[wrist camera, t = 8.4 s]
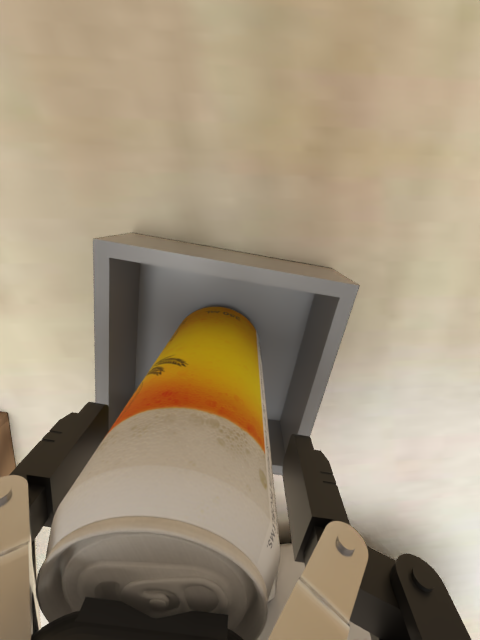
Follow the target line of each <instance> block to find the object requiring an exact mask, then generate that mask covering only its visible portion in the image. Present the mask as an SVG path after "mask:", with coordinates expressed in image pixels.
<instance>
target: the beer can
mask: <svg viewBox="0 0 480 640" xmlns="http://www.w3.org/2000/svg"><path fill="white" fill-rule="evenodd" d="M279 562H280V543H279V533H278V522H277V512H276V502H275V492H274V482H273V471H272V461H271V451H270V441H269V431H268V421H267V410H266V400H265V390H264V380H263V370H262V360H261V349H260V341H259V337H258V334H257V332H256V330H255V328H254V326H253V325H252V324H251V322H250V321H249V320H248V319H247V318H246V317H244V316H243V315H242V314H240V313H239V312H237V311H235V310H232V309H229V308H225V307H206V308H202V309H199V310H197V311H195V312H193V313H191V314H190V315H189V316H187V317H186V318H185V319H184V320H183V321H182V323H181V324H180V326H179V327H178V329H177V330H176V332H175V333H174V335H173V336H172V338H171V339H170V340H169V342H168V343H167V345H166V346H165V348H164V349H163V351H162V352H161V354H160V355H159V357H158V358H157V360H156V361H155V363H154V364H153V366H152V367H151V369H150V370H149V372H148V373H147V375H146V376H145V378H144V379H143V381H142V382H141V384H140V385H139V387H138V388H137V390H136V391H135V393H134V394H133V396H132V397H131V399H130V400H129V402H128V403H127V405H126V406H125V408H124V409H123V411H122V412H121V414H120V415H119V417H118V418H117V420H116V421H115V423H114V424H113V426H112V427H111V429H110V430H109V432H108V433H107V435H106V436H105V438H104V439H103V441H102V442H101V444H100V445H99V447H98V448H97V450H96V451H95V453H94V454H93V455H92V457H91V458H90V460H89V461H88V463H87V464H86V466H85V467H84V469H83V470H82V472H81V473H80V475H79V476H78V478H77V479H76V481H75V482H74V484H73V485H72V487H71V488H70V490H69V491H68V493H67V494H66V496H65V497H64V499H63V500H62V502H61V503H60V505H59V507H58V508H57V510H56V512H55V515H54V518H53V521H52V525H51V531H50V537H49V542H48V548H47V554H46V559H45V561H44V563H43V564H42V566H41V568H40V570H39V573H38V576H37V580H36V597H37V601H38V604H39V607H40V609H41V611H42V613H43V614H44V616H45V617H46V619H47V620H48V622H49V623H50V622H52V621H54V620H56V619H58V618H60V617H62V616H64V615H66V614H69V613H72V612H75V611H79V610H80V609H81V607H82V604H83V602H84V600H85V597H91V598H99V599H107V600H115V601H122V602H123V603H125V604H127V605H129V606H131V607H133V608H135V609H137V610H138V611H140V612H142V613H144V614H146V615H148V616H150V617H152V618H162V617H167V616H171V615H176V614H180V613H185V612H189V611H202V612H209V613H217V614H225V615H228V629H230V630H232V631H234V632H235V633H236V634H238V635H239V636H240V637H242V638H243V639H244V640H257V639H258V637H259V636H260V634H261V633H262V631H263V629H264V627H265V624H266V620H267V614H268V599H269V596H270V593H271V589H272V586H273V583H274V580H275V577H276V574H277V571H278V567H279Z"/></svg>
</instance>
